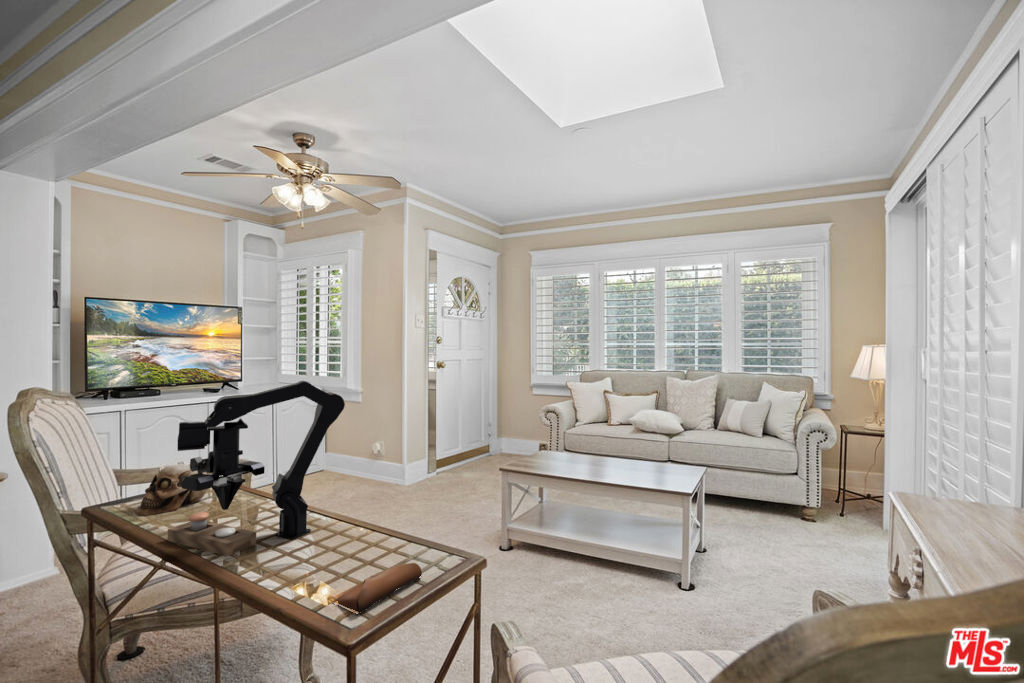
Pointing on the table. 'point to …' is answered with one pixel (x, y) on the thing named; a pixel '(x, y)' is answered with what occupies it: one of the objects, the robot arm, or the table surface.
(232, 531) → the white domed knob
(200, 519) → the terracotta plunger
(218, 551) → the walnut panel
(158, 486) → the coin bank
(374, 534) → the table surface
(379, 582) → the sunglasses case
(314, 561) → the table surface
